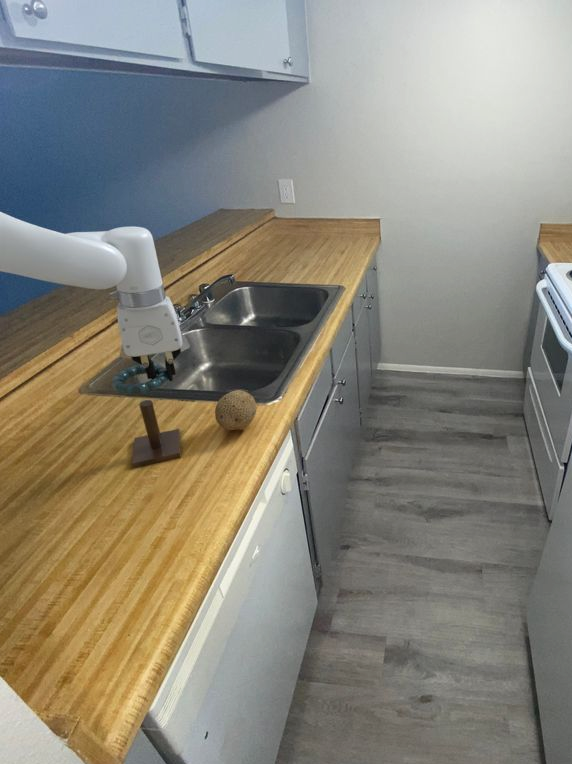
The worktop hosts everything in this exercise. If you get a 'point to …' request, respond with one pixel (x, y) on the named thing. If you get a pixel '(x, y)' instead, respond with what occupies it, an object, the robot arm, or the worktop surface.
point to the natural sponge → (235, 410)
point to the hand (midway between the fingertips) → (162, 378)
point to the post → (154, 440)
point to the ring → (142, 387)
